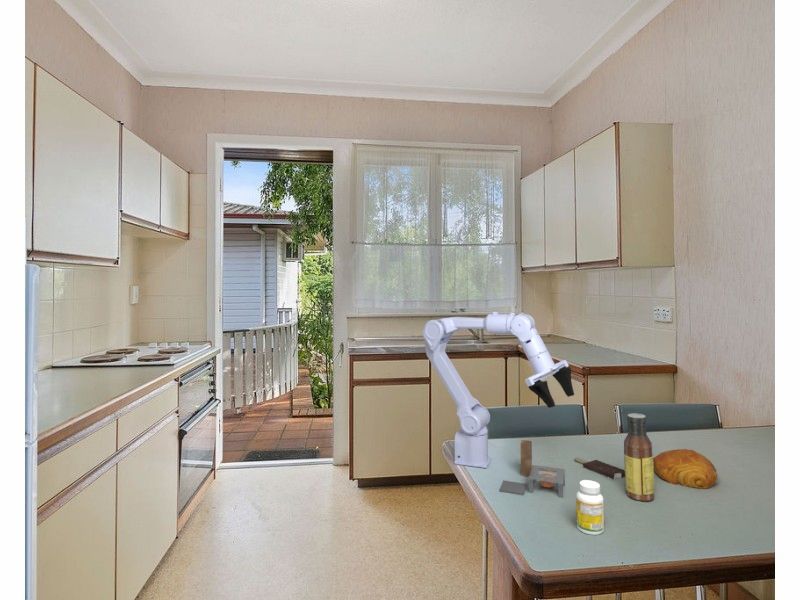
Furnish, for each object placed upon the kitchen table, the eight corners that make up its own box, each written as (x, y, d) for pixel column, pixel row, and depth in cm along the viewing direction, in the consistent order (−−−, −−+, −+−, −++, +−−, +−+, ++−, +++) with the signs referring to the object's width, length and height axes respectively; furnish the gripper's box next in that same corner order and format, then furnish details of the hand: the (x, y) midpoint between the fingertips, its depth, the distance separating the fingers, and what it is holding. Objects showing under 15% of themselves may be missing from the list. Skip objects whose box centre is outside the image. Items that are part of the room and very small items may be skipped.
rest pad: (499, 491, 114) (499, 489, 114) (503, 481, 120) (503, 480, 120) (523, 495, 112) (523, 493, 112) (526, 485, 117) (526, 483, 117)
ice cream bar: (569, 463, 133) (615, 481, 120) (569, 457, 133) (615, 475, 120) (581, 459, 135) (628, 477, 122) (581, 454, 135) (628, 471, 122)
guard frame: (529, 492, 113) (528, 476, 113) (532, 479, 121) (532, 464, 121) (563, 497, 110) (562, 481, 110) (564, 484, 118) (564, 469, 118)
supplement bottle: (599, 538, 92) (599, 491, 92) (572, 530, 96) (572, 484, 95) (607, 527, 96) (606, 482, 96) (581, 519, 100) (581, 476, 99)
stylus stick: (520, 475, 124) (520, 442, 123) (522, 472, 126) (521, 439, 126) (530, 477, 123) (530, 443, 122) (531, 473, 125) (531, 440, 125)
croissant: (709, 479, 125) (710, 449, 126) (722, 494, 111) (722, 460, 111) (650, 469, 131) (650, 441, 132) (654, 483, 117) (655, 451, 118)
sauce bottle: (651, 492, 112) (651, 412, 112) (657, 504, 106) (656, 419, 106) (622, 489, 114) (622, 410, 114) (625, 500, 108) (625, 417, 108)
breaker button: (539, 486, 115) (539, 478, 114) (540, 480, 118) (540, 473, 118) (553, 488, 113) (553, 480, 113) (554, 482, 116) (554, 475, 116)
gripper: (527, 360, 117) (553, 409, 114) (565, 341, 124) (589, 388, 121) (512, 366, 123) (535, 413, 120) (548, 348, 130) (571, 393, 127)
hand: (561, 401), depth 121 cm, fingers open, 7 cm apart
